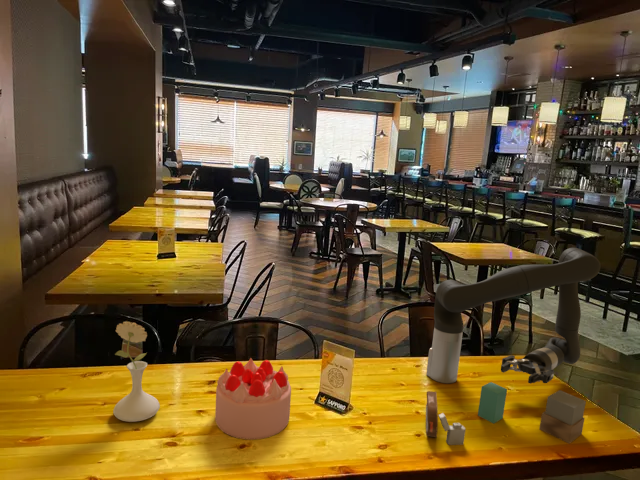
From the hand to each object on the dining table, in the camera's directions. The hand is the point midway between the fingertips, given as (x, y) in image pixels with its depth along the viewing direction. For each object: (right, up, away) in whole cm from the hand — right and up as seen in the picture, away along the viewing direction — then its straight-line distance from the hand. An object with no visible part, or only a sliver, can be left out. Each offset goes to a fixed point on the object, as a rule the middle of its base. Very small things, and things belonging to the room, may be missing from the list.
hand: (515, 374), depth 139 cm
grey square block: (+9, -8, -11) cm, 16 cm away
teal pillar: (-10, -11, -5) cm, 15 cm away
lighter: (-25, -12, -19) cm, 34 cm away
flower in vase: (-108, -6, -16) cm, 109 cm away
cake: (-77, -8, -15) cm, 79 cm away
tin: (-29, -11, -13) cm, 33 cm away
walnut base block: (+8, -13, -10) cm, 18 cm away
